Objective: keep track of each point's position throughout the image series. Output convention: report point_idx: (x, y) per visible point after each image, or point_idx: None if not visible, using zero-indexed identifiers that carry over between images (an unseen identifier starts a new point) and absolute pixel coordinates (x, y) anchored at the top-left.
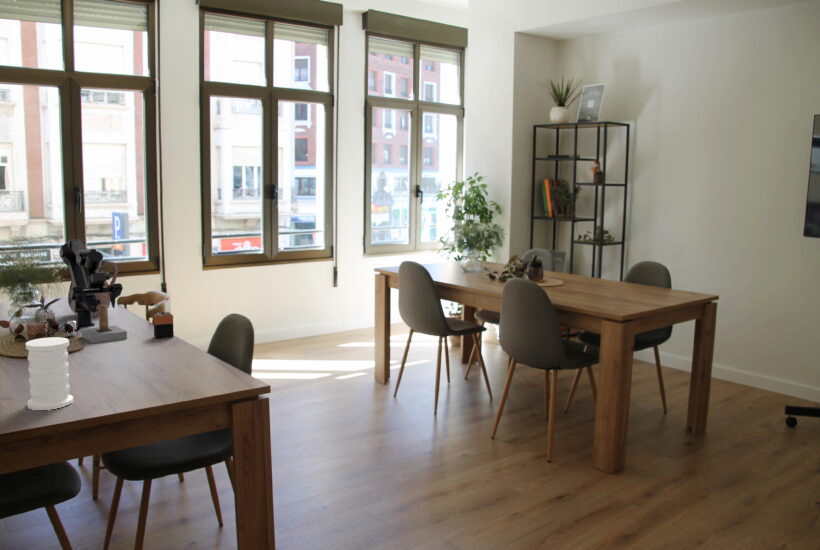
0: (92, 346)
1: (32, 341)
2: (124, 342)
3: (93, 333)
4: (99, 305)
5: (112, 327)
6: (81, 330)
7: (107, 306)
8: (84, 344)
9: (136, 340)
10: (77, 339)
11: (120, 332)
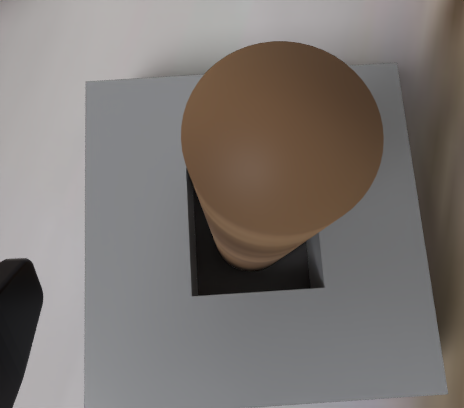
0: (389, 8)
1: None
2: (162, 10)
3: None
4: (358, 161)
5: (142, 323)
6: (443, 388)
7: (190, 113)
8: (431, 94)
9: (68, 25)
10: (458, 299)
11: (145, 79)
